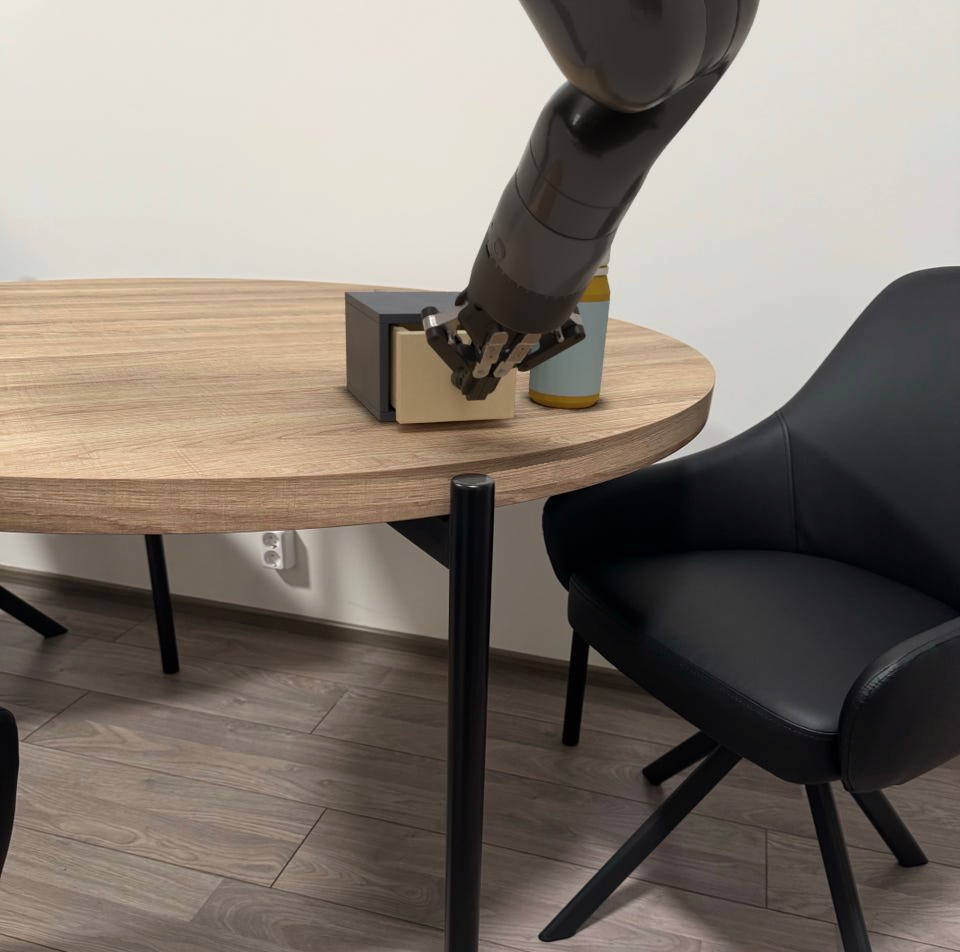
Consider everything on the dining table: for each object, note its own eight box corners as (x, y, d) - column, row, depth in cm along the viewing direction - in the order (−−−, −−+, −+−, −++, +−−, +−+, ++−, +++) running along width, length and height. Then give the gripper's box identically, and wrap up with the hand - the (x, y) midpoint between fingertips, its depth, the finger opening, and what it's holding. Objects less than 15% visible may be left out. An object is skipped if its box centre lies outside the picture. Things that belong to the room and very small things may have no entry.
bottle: (513, 399, 92) (524, 233, 85) (557, 389, 97) (571, 231, 90) (569, 413, 88) (585, 241, 81) (612, 402, 93) (631, 238, 86)
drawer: (519, 421, 81) (525, 334, 78) (403, 427, 78) (404, 336, 75) (469, 388, 92) (472, 309, 88) (365, 392, 88) (364, 310, 85)
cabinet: (502, 415, 86) (508, 312, 82) (379, 422, 83) (379, 313, 78) (457, 384, 97) (460, 291, 93) (346, 388, 93) (344, 291, 89)
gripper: (621, 199, 64) (536, 349, 79) (436, 192, 59) (384, 352, 75) (650, 293, 62) (557, 428, 78) (460, 293, 57) (402, 436, 73)
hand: (472, 390), depth 76 cm, fingers closed
